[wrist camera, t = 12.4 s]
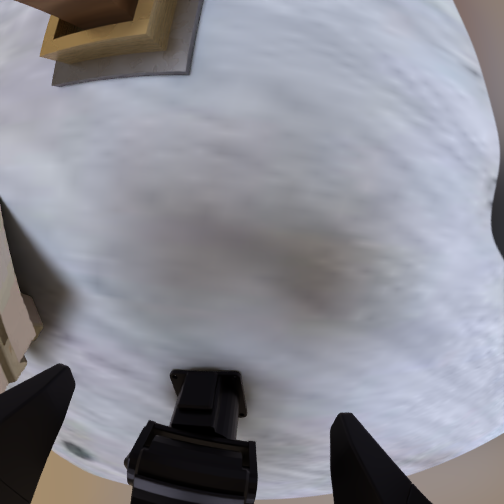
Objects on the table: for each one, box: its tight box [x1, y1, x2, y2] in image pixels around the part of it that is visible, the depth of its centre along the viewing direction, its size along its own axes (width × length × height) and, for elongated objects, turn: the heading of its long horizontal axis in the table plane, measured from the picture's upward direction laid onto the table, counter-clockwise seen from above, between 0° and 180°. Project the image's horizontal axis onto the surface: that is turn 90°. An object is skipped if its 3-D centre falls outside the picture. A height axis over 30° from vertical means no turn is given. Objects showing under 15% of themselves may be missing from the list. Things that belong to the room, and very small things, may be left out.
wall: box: [0, 206, 44, 394], centre depth 20 cm, size 16×9×15 cm
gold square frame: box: [40, 0, 203, 87], centre depth 12 cm, size 11×11×4 cm
